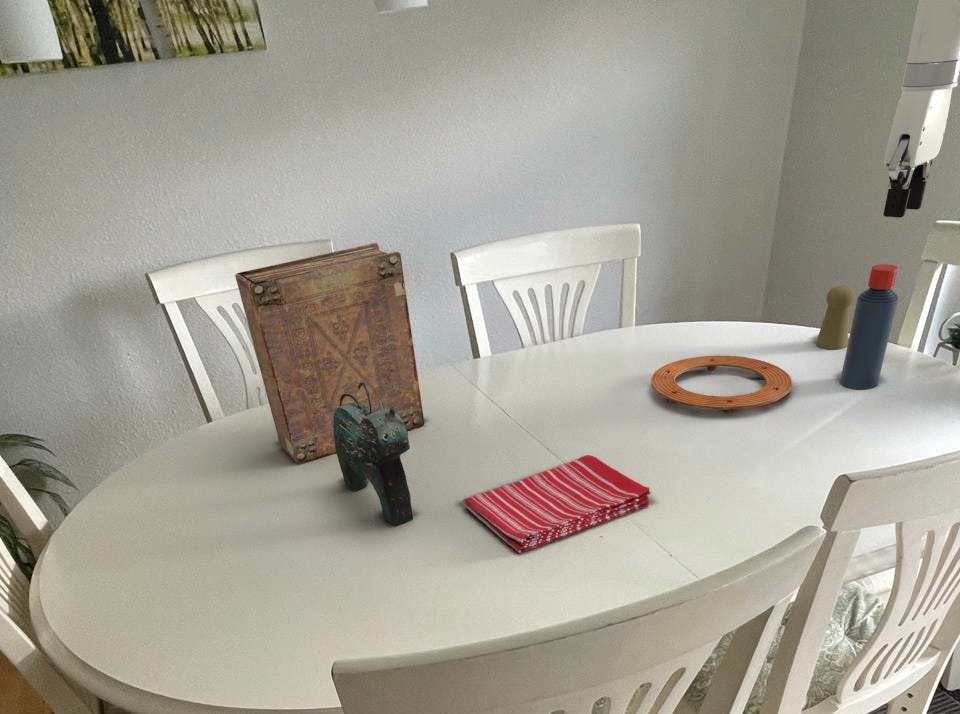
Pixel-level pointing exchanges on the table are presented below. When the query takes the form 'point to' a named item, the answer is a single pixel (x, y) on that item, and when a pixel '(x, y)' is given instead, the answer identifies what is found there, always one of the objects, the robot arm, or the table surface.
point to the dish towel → (557, 502)
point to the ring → (771, 392)
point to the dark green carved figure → (374, 454)
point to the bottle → (868, 338)
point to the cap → (882, 276)
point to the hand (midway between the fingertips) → (902, 211)
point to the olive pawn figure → (836, 319)
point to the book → (331, 342)
